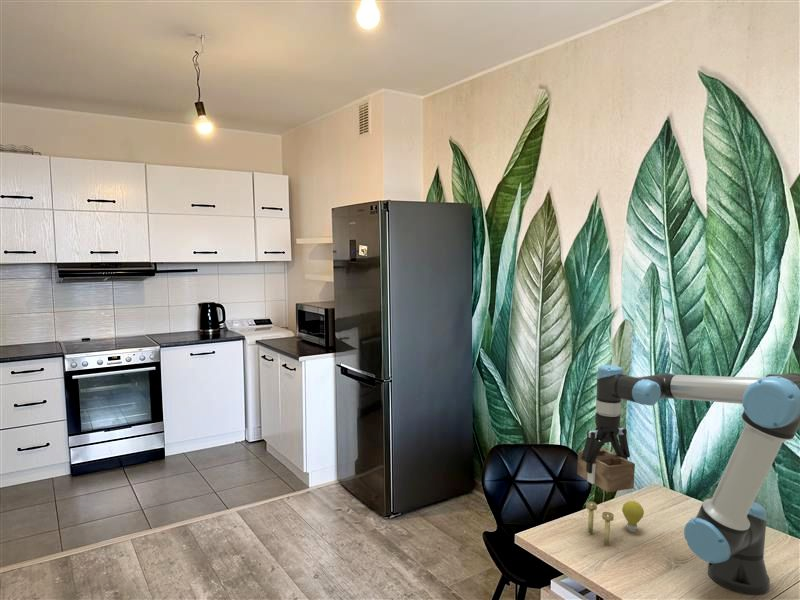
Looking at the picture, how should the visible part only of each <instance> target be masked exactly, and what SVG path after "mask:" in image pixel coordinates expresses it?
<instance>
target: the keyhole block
mask: <svg viewBox="0 0 800 600" xmlns="http://www.w3.org/2000/svg"><path fill="white" fill-rule="evenodd" d="M583 450H584V449H583ZM583 450H577V451H578V453H577V466H576V467H577V472H576V473H577V474H576V475H578V476H579V477H581V478H583V479H585V480H586V481H587V476H588V472H586V462H585V461H583V460H581V457H582V453H583ZM594 464H596V466H595V484H594V486H597V487H599V488H600V489H601V490H603V491H605V492H606V493H612V492H616V491H618V492H619V491H625V490H631V489H635V488H634V487H635V471H636V466H635V465H636V463H635V462H633V461H631V460H628V459H627V460H626V459H624V458H622V457H620V456H618V455H616V453H614V452H612V451H609V450H608V449H606V448H604V447H603V448H602V447H601V449H600V451H599V453H598V455H597V457H596V459H595V461H594Z"/></svg>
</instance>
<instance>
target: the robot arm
mask: <svg viewBox="0 0 800 600" xmlns="http://www.w3.org/2000/svg"><path fill="white" fill-rule="evenodd" d="M595 398H596V401H595V411H596V413H595V415H594V417H595V419H594V424H595V426H596V427H595V429H594V430H587V432H586V440H585V443H584V447H583V453H582V457H581V460H583V461H585V462H586V472H588V476H587V480H586V481H587V482H588V483H590V484H592V485H595V466H596V464H594V461H595V459H596V457H597V455H598V453H599V451H600V449H601V448H602V447H603V446H605V444H607V443H610V444H611V446H612V448H613V451H614V452H615V453H614V454H616V455H618V456H620V457H622V458H624V459H626V460H628V458H631V453H630V449H629V444H628V438H627V429H626V428H624V427H620V425H621V413H622V400H625V401H627V402H632V403H635V404H639V405H645V406H649V407H650V406H655V405H656V404H657V403H658V402H659V400H660V399H671V400H687V401H703V402H714V403H727V404H739V405H740V404H741V405H742V408H743V411H742V415H741V420H742V421H743V423H744V427H743V429H742V431H741V433H740V436H739V438H738V440H737V442H736V444H735V446H734V449H733V452H732V453H731V456H730V458H729V460H728V462H727V465H726V466H725V469H724V470H723V473H722V475H721V477H720V480H719V482H718V485H716V486H717V487H716V489H715V491H714V492H713V495H712V497H711V498H705V499H704V500H703V502H702V504H701V506H700V507H699V510H698V512H697V515H696V516H695V517H694V518H691V519H689V520H688V521H687V522H686V523H685V525H684V529H683V534H684V535H683V536H684V539H685V541H686V542H687V545H688V547H689V549H690V550H691V551H692V553H693V554H694V555H695V556H696V557H698V558H699V559H701V560H702V561H704V562H707V575H708V576H709V578H710V579H712V581H714V582H715V583H717V584H718V585H720V586H721V587H724V588H726V589H729V590H731V591H733V592H736V593H737V592H738V593H741V594H745V595H762V594H763V595H764V594H766V593H768V591H769V590H770V583H771V582H770V577H769V575H768V572H767V567H766V564H765V560H764V555H765V542H766V530H767V529H766V528H767V522H768V519H767V511H766V509H765V508H764V507H763V506H762V505H760V504H759V503H757V502H755V500H756V498H757V497H758V495H759V492H760V489H761V488H762V486H763V484H764V483H765V480H766V477H767V476H768V473H769V471H770V469H771V467H772V466H773V463H774V461H775V459H776V458H777V455H778V453H779V451H780V449H781V447H782V445H783V442H786V441H791V440H793V439H794V438H795V435H796V433H797V431H798V429H799V428H800V373H797V372H790V373H789V372H788V373H782V374H780V373H777V374H774V373H770V374H769V373H767V374H765V375H764V376H763V377H751V376H750V377H749V376H747V377H746V376H725V375H724V376H723V375H721V376H720V375H695V374H694V375H692V374H691V375H690V374H674V373H671V372H661V373H659V374H653V375H646V376H640V377H639V376H637V377H636V376H630V375H626V374H624V370H623V368H622V366H619V365H613V364H612V365H611V364H603V365H600V366H599V367H598V369H597V377H596V397H595Z"/></svg>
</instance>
